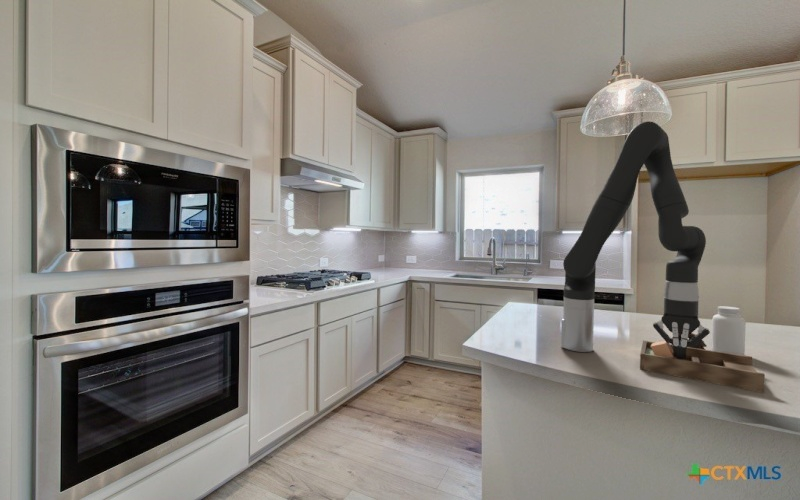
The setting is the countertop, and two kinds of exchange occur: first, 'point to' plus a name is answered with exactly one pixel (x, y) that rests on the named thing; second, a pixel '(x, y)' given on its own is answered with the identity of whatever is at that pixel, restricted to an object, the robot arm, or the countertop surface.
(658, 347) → the terracotta block
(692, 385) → the countertop surface
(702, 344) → the pottery mug
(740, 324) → the pill bottle
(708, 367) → the box
